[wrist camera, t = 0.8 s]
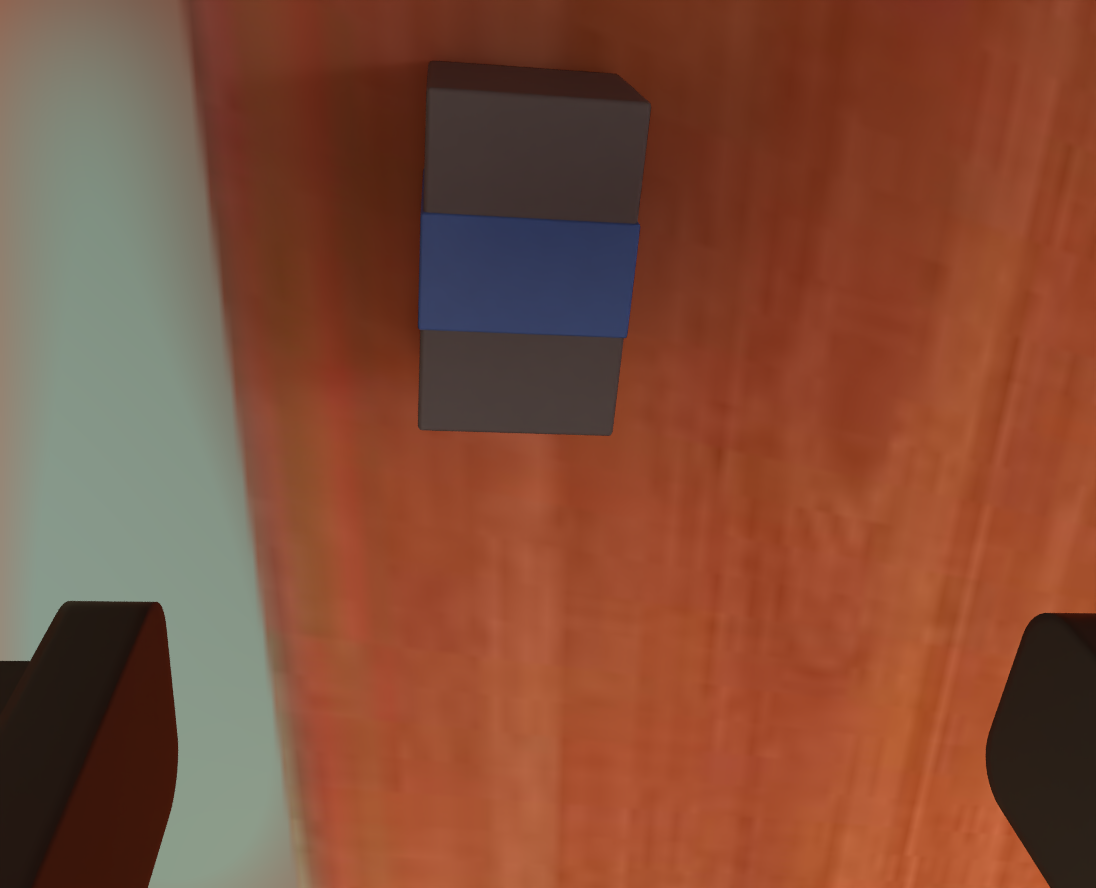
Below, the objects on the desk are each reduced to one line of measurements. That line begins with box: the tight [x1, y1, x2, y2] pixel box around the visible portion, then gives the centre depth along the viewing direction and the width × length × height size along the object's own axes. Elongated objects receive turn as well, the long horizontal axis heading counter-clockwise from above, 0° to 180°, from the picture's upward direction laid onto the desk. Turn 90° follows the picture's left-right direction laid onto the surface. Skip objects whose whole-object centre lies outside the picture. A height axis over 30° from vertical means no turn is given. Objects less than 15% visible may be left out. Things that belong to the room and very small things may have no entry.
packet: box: [418, 61, 651, 436], centre depth 22 cm, size 7×4×4 cm, turn 175°
